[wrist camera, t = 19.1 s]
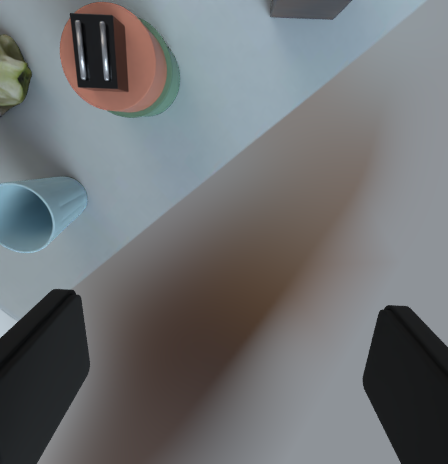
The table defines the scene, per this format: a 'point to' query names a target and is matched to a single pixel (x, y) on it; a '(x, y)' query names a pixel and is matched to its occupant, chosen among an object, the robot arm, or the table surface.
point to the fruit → (12, 74)
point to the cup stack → (129, 67)
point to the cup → (38, 211)
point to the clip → (99, 52)
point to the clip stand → (307, 8)
